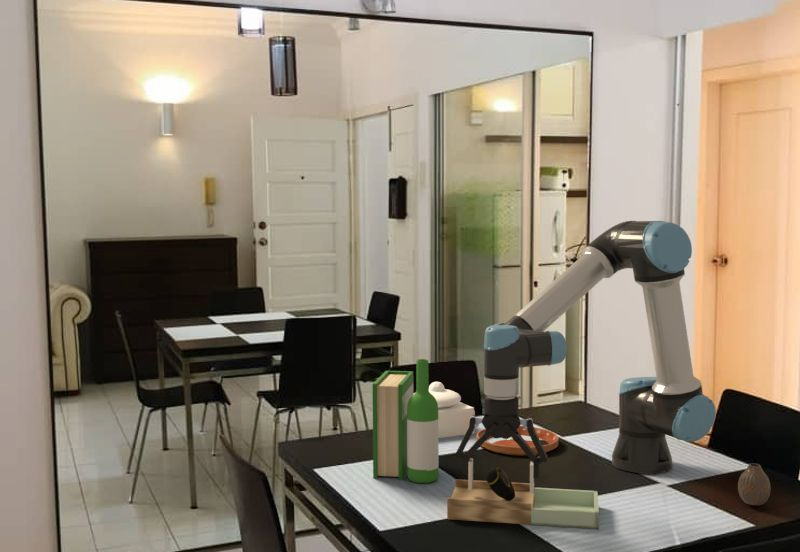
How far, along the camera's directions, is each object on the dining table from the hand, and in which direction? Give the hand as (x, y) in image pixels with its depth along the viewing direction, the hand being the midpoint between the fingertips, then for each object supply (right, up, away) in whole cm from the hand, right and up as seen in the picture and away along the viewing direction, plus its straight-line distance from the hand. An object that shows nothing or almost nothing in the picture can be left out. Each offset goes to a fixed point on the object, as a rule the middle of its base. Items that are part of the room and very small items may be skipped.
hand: (501, 490), depth 196 cm
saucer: (+11, -1, +53) cm, 54 cm away
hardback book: (-24, -3, +33) cm, 40 cm away
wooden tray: (-2, -5, +1) cm, 5 cm away
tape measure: (0, -2, 0) cm, 2 cm away
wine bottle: (-17, -3, +24) cm, 29 cm away
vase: (+58, -4, +5) cm, 59 cm away
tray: (+14, -5, -2) cm, 15 cm away
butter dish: (-12, 0, +68) cm, 69 cm away
